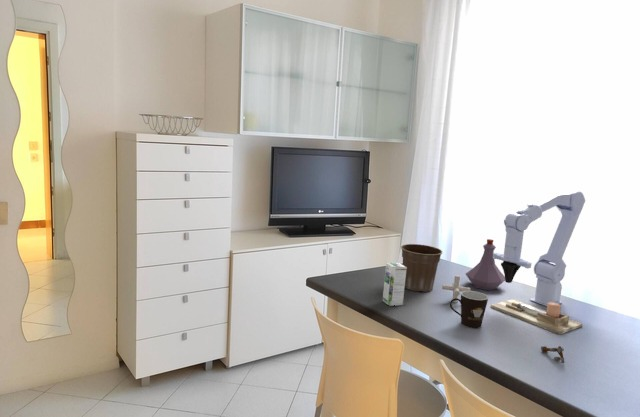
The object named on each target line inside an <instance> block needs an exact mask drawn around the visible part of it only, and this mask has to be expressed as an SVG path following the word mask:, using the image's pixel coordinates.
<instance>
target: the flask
mask: <svg viewBox="0 0 640 417" xmlns="http://www.w3.org/2000/svg"><path fill="white" fill-rule="evenodd" d="M482 247H483V254H482V256H481V259H480V261H479V262H478V263H477V264H476V265H475V266H474V267H473V268H471V269H469V271H468V272H466V273H465V276H466V277H467V279H468V280H469V281H470V283H471V284H472V285H473V286H474V287H475V288H477V289H481V290H485V291H495V289H497V288H498V287H499V286H501V285H502V284H503V283H504V282H505V275H504V273H502V272H501V270H500V269H499V267H498V265H497V264H496V261H495V260H496V259H494V258H493V253H495V252H494V251H495V249H496V245H495V244H494V240H493V239H489V238H488V239H486V243H485V244H483V245H482Z"/></svg>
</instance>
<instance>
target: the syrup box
mask: <svg viewBox="0 0 640 417" xmlns="http://www.w3.org/2000/svg"><path fill="white" fill-rule="evenodd" d="M406 268H407V267H405V266H403V263H402V264H401V263H400V262H393V261H392V262H386V263H385V270H384V283H383V292H382V302H384V303H385V304H387V305H389V306H388V307H394V305H395V306H403V305H404V295H405V289H406V288H405V278H406Z"/></svg>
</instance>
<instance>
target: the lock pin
mask: <svg viewBox="0 0 640 417" xmlns="http://www.w3.org/2000/svg"><path fill="white" fill-rule="evenodd" d="M526 304H527V303H526ZM526 304H523V303H517V308H520V309H522V311H524V312H526V313H529V314H532V315H534V316H537V313H538V312H540V313H542V314H545V315H546V312H545V311H542V310H539V309H537V308H538V307H537V308H534V307H531V306H528V305H526Z"/></svg>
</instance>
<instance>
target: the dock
mask: <svg viewBox="0 0 640 417" xmlns="http://www.w3.org/2000/svg"><path fill="white" fill-rule="evenodd" d="M517 303H523V304H526V305H528V306H531V307H534V308H537V309H539V310H542V311H545V312H546V310H547V309H546V310H545V309H543V308H540V307H538V306H535V305H532V304H529V303H526V302H523V301H521V300H518V299H515V298H512V299H508V300H504V301H500V302H496V303H492V304H490V308H491V309H494V310H497V311H499V312H502V313H503V314H504V313H505V314H507V315H509V316H512V317H514V318H517V319H519V320H522V321H524V322H527V323H529V324H531V325H534V326H537V327H540V328H542V329H543V330H544V329H545V330H547V331H550V332H552V333H555V334H557V335H562V334H565V333H568V332H571V331H574V330H577V329H579V328H581V327H583V323H581V322H579V321H576V320H572V319H570V315H567V314H564V313H561V312H560V314H559V318H558V319H556V318H553V317H550V316H548V315H545V314H542V313H540V312H538V313H537V316H534V315H532V314H529V313H526V312H524V311H522V309H520V308H517Z"/></svg>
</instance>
